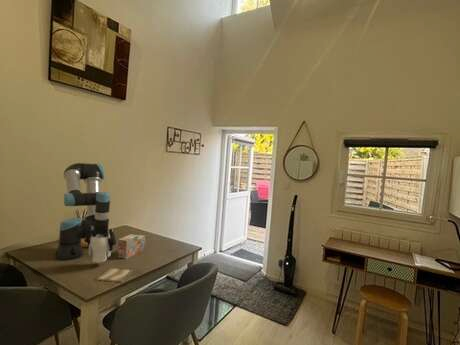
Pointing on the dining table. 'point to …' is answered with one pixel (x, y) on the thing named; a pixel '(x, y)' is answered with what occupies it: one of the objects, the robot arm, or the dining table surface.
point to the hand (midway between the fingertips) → (99, 255)
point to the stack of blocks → (130, 245)
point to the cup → (99, 247)
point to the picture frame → (114, 275)
